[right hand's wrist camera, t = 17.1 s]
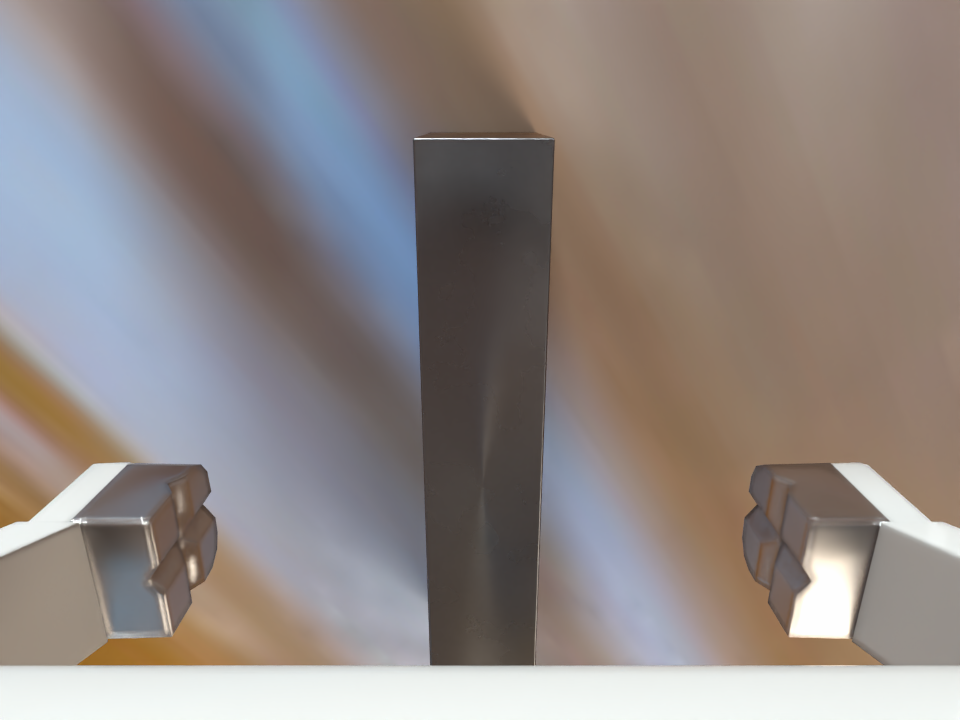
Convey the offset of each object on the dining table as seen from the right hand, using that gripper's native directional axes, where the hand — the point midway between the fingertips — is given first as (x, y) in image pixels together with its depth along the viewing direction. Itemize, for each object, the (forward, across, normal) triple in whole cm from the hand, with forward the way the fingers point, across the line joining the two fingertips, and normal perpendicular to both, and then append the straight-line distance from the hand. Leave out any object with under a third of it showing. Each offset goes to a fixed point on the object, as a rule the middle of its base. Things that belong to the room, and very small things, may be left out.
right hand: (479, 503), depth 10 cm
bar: (+24, 0, +9) cm, 26 cm away
